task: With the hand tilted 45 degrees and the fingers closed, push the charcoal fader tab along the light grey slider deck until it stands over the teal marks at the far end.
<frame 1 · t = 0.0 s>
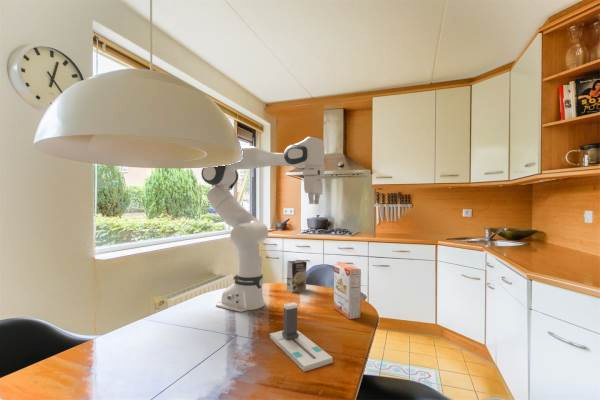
hand: (314, 204, 129), 48 cm above the table, tool pointing down, fingers open, 8 cm apart
coffee box: (296, 290, 161), on the table
slider deck: (298, 349, 95), on the table
cracker box: (346, 313, 128), on the table
fader tab: (290, 320, 101), point 7 cm above the table, slide at -6.0 cm
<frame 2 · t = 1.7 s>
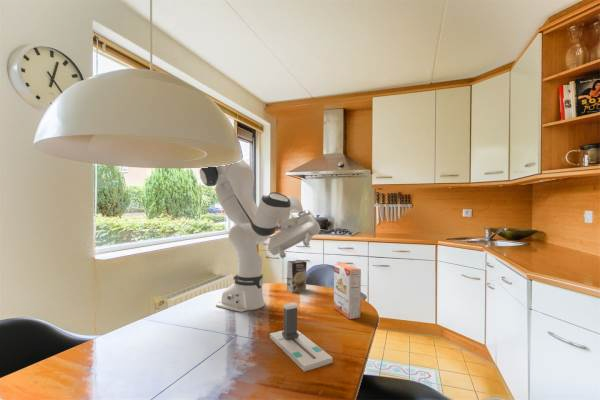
hand: (294, 250, 97), 32 cm above the table, tool tilted 55°, fingers open, 8 cm apart
nothing on the table moved.
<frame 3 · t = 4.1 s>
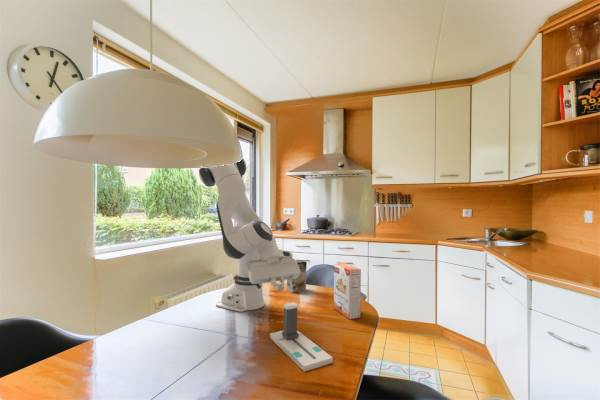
hand: (280, 289, 107), 16 cm above the table, tool tilted 45°, fingers closed
nothing on the table moved.
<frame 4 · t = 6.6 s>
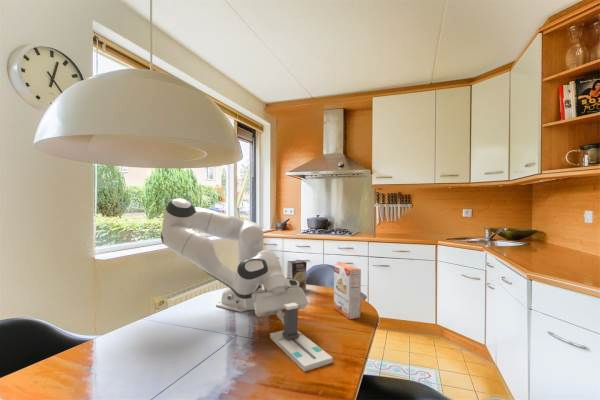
hand: (287, 323, 102), 6 cm above the table, tool tilted 45°, fingers closed, pressing on fader tab
fader tab: (290, 320, 100), point 7 cm above the table, slide at -5.7 cm, touching gripper
everything else where it was.
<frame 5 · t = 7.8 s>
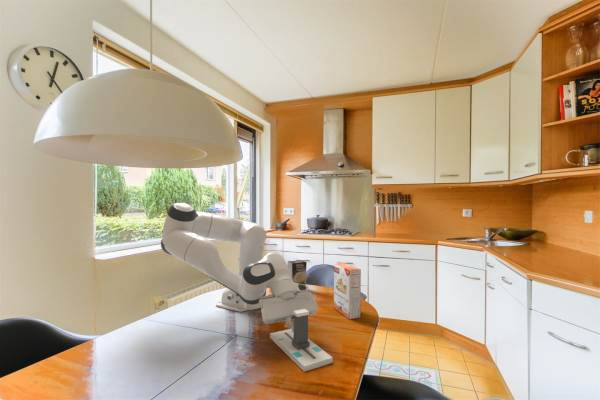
hand: (297, 330, 96), 6 cm above the table, tool tilted 45°, fingers closed, pressing on fader tab
fader tab: (300, 328, 94), point 7 cm above the table, slide at 1.3 cm, touching gripper
everything else where it was.
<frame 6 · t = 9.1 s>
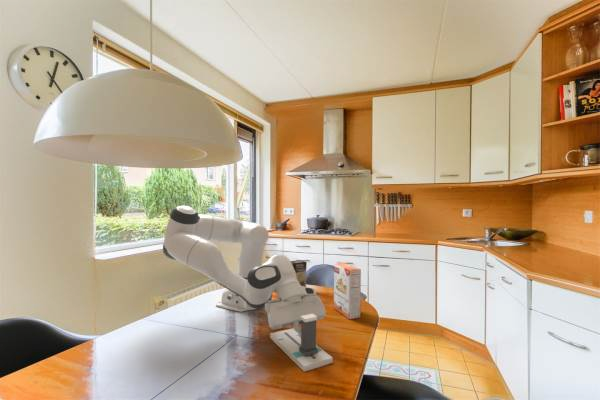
hand: (305, 336, 92), 6 cm above the table, tool tilted 45°, fingers closed, pressing on fader tab
fader tab: (308, 334, 90), point 7 cm above the table, slide at 6.1 cm, touching gripper
everything else where it was.
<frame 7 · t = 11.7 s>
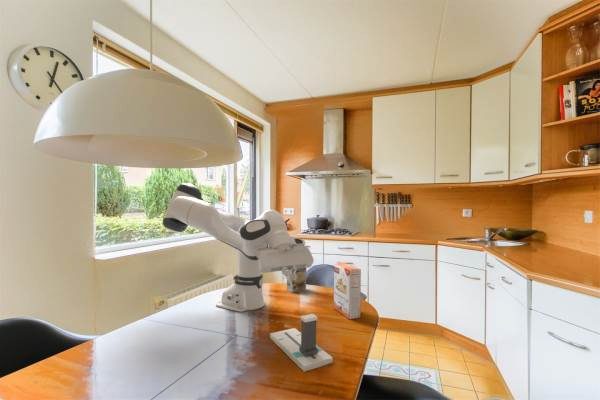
hand: (292, 279, 99), 22 cm above the table, tool tilted 45°, fingers closed
fader tab: (308, 334, 90), point 7 cm above the table, slide at 6.2 cm
everything else where it was.
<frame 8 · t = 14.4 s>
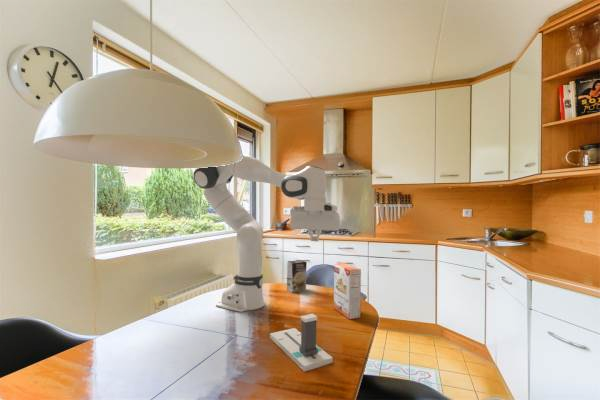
hand: (314, 241, 116), 33 cm above the table, tool pointing down, fingers closed
nothing on the table moved.
at the end: fader tab slide at 6.2 cm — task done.
